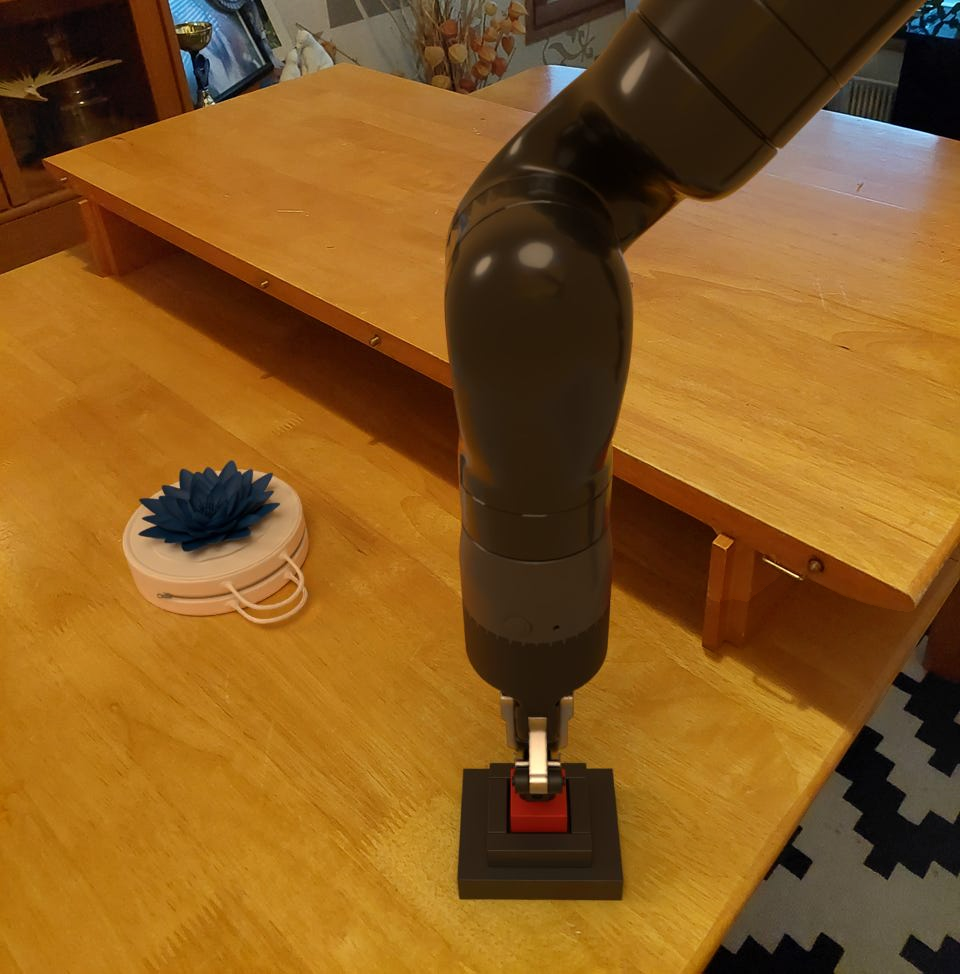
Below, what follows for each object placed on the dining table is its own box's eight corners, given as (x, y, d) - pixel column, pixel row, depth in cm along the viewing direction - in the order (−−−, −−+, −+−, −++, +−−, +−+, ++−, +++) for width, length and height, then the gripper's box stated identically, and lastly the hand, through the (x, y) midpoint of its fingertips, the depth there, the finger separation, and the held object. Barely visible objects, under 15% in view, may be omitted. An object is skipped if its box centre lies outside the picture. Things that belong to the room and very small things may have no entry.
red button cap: (564, 785, 59) (564, 768, 58) (566, 833, 56) (567, 816, 55) (511, 785, 59) (510, 768, 58) (511, 832, 57) (510, 816, 56)
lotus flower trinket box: (85, 493, 81) (183, 614, 68) (244, 425, 89) (359, 523, 76) (107, 552, 85) (204, 676, 73) (257, 483, 93) (369, 585, 80)
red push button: (611, 787, 63) (613, 751, 61) (622, 900, 57) (625, 864, 54) (465, 787, 64) (461, 751, 61) (459, 899, 57) (455, 864, 55)
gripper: (623, 685, 41) (607, 893, 51) (601, 500, 51) (591, 704, 62) (453, 686, 41) (472, 892, 52) (466, 502, 52) (479, 704, 62)
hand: (537, 789), depth 57 cm, fingers closed
